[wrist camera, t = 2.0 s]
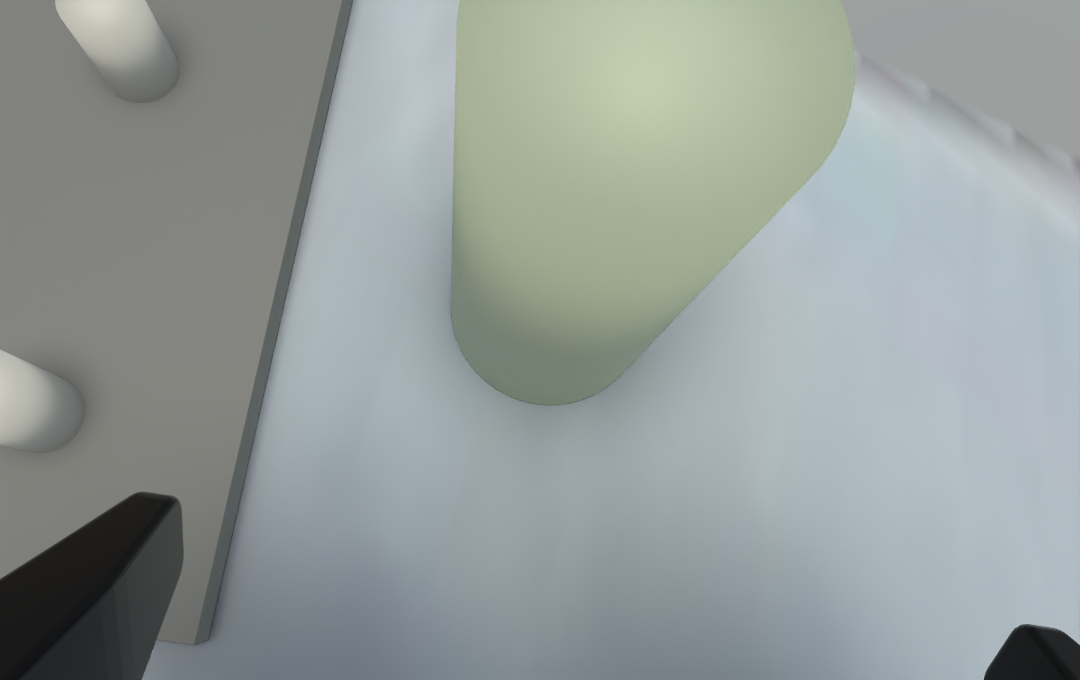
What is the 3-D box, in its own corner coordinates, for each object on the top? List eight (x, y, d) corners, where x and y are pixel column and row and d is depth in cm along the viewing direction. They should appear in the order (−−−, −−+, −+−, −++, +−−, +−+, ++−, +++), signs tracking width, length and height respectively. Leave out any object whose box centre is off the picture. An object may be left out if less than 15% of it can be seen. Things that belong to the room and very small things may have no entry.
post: (679, 351, 23) (929, 131, 11) (507, 439, 22) (580, 301, 10) (586, 188, 24) (727, -179, 12) (417, 265, 23) (385, -52, 11)
